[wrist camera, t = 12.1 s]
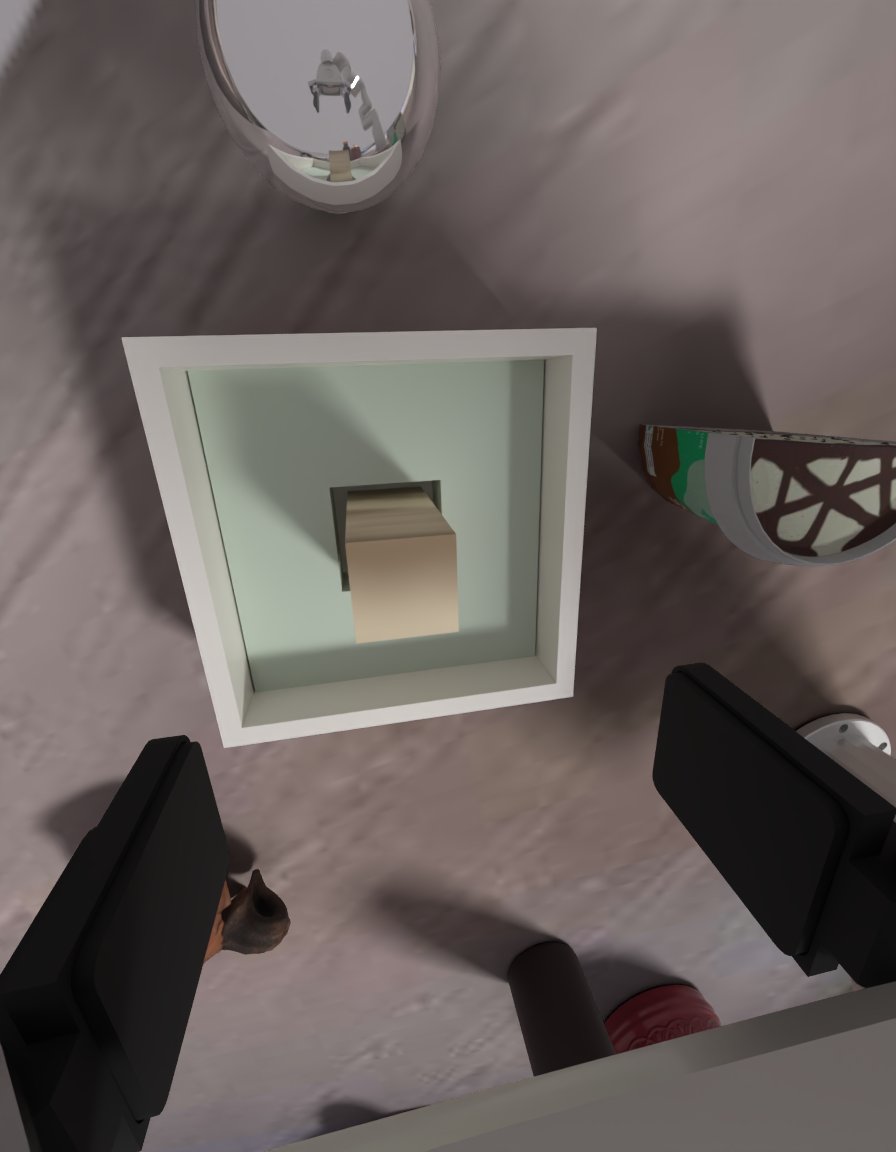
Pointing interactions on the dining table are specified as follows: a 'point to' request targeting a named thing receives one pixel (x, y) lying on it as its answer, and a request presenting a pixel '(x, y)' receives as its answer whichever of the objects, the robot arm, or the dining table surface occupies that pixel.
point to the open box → (203, 552)
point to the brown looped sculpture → (249, 920)
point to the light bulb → (324, 92)
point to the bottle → (556, 1009)
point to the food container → (779, 489)
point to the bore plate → (366, 457)
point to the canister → (659, 1017)
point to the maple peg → (400, 565)
